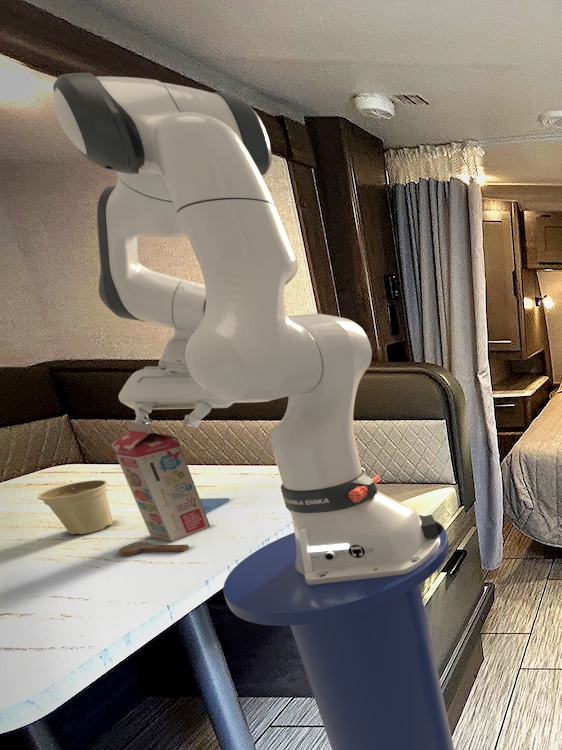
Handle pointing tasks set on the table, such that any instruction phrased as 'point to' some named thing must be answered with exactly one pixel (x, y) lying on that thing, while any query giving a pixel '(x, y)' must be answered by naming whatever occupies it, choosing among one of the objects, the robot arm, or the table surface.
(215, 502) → the cloth
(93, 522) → the flower pot
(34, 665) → the table surface
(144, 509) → the juice carton
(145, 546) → the wooden spoon
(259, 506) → the table surface
